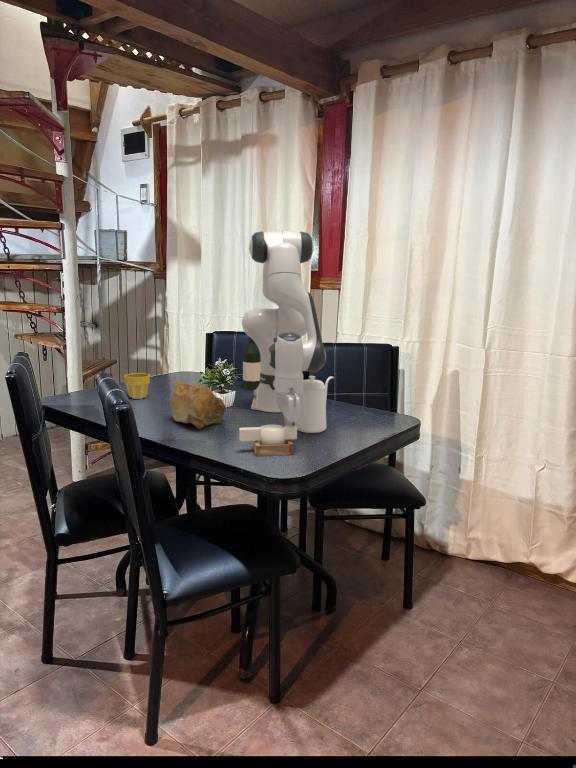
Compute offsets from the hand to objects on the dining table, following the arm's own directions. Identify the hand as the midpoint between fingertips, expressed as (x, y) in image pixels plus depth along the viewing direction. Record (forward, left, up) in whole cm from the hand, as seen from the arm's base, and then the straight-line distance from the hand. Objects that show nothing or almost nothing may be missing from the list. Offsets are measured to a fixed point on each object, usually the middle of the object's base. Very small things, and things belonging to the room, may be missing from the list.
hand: (288, 428), depth 182 cm
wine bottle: (-83, -1, -5) cm, 83 cm away
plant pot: (-69, -51, -5) cm, 86 cm away
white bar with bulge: (+6, -7, -5) cm, 10 cm away
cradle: (+6, -6, -5) cm, 10 cm away
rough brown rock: (-27, -26, -5) cm, 38 cm away
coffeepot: (-15, +11, -5) cm, 19 cm away
